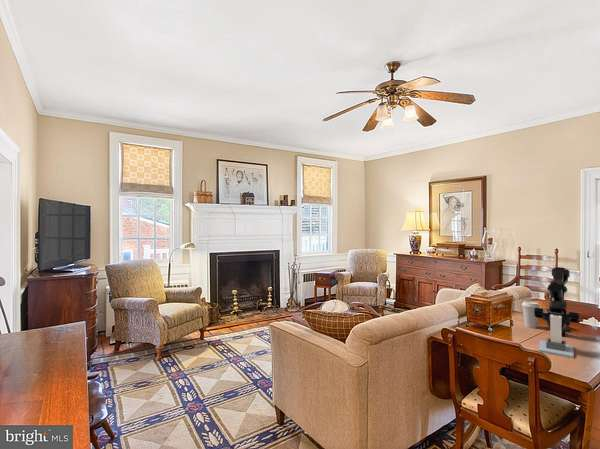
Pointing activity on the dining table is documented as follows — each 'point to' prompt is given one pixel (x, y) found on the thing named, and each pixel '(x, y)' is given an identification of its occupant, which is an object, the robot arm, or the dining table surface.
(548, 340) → the outlet
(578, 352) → the dining table surface
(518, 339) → the dining table surface
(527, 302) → the coffee cup
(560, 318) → the charger
